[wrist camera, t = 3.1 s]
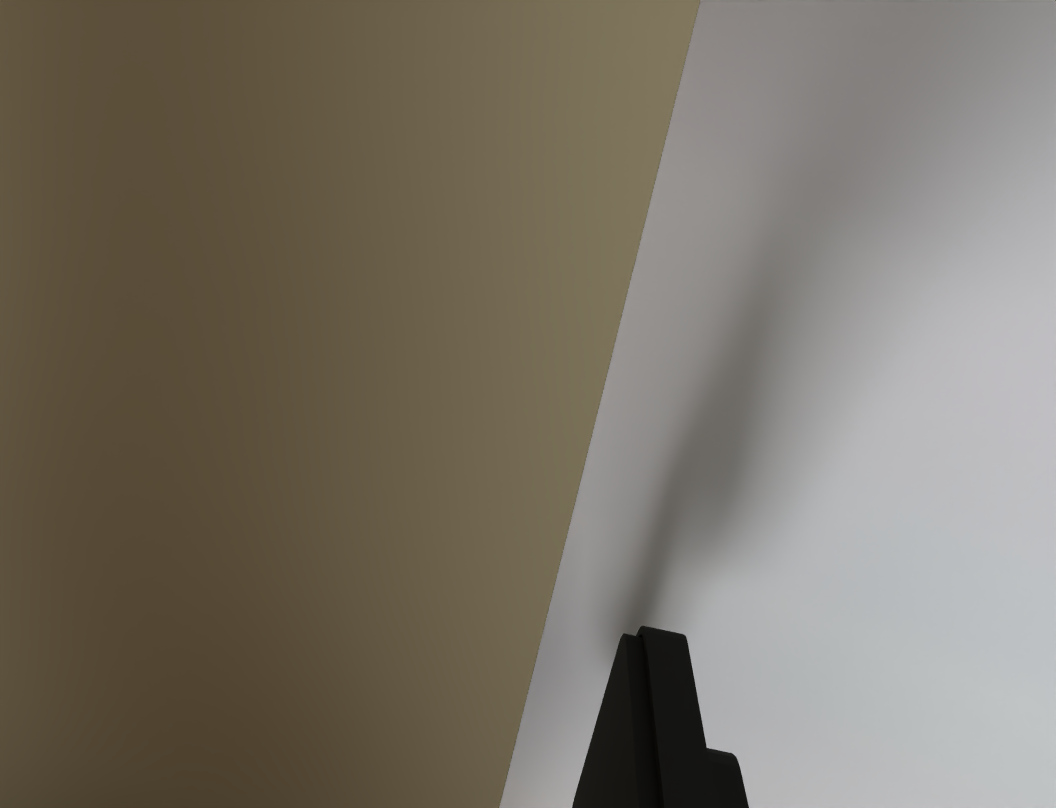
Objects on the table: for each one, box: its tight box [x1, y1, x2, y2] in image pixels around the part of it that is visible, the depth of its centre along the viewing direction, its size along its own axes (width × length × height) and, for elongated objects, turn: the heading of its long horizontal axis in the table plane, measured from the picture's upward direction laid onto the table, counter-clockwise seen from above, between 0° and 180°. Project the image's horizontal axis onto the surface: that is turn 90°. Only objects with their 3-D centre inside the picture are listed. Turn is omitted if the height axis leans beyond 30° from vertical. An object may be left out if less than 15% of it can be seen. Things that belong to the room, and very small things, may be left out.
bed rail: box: [0, 0, 700, 808], centre depth 10 cm, size 4×22×6 cm, turn 168°
